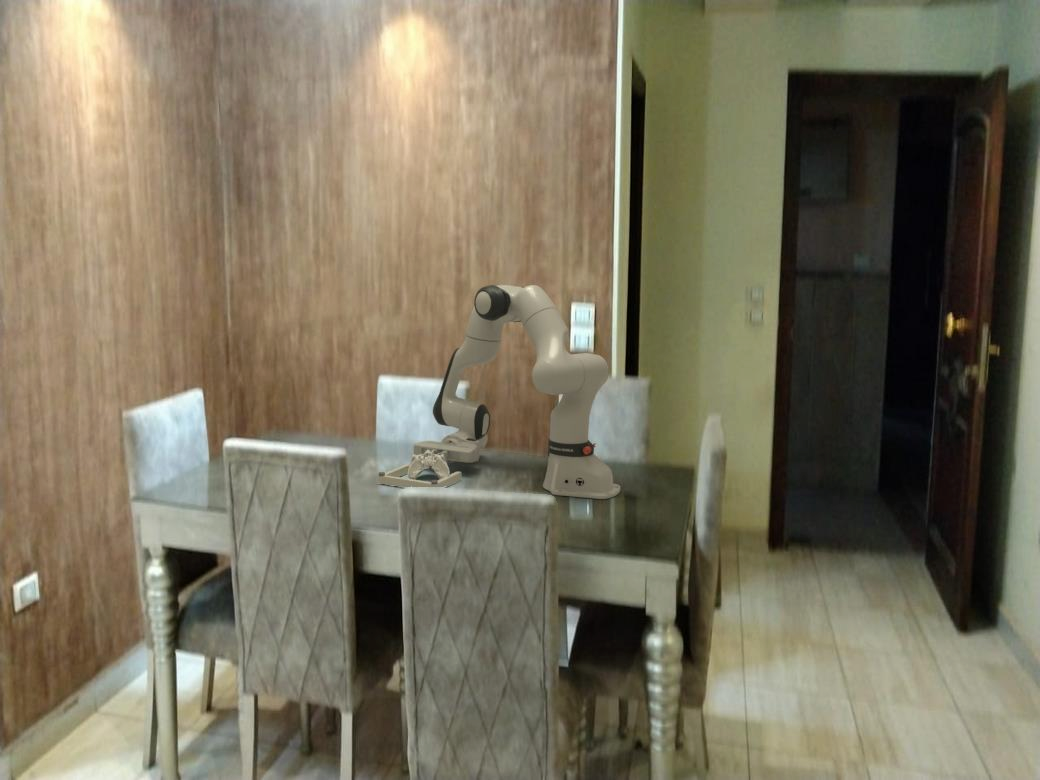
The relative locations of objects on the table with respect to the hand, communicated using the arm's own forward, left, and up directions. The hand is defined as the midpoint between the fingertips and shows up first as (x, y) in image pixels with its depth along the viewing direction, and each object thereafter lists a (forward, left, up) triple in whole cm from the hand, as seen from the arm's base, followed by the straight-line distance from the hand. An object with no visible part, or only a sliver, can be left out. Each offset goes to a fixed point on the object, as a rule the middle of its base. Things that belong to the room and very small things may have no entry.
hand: (433, 457), depth 271 cm
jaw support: (-1, +4, -6) cm, 7 cm away
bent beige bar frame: (0, +7, -6) cm, 10 cm away
